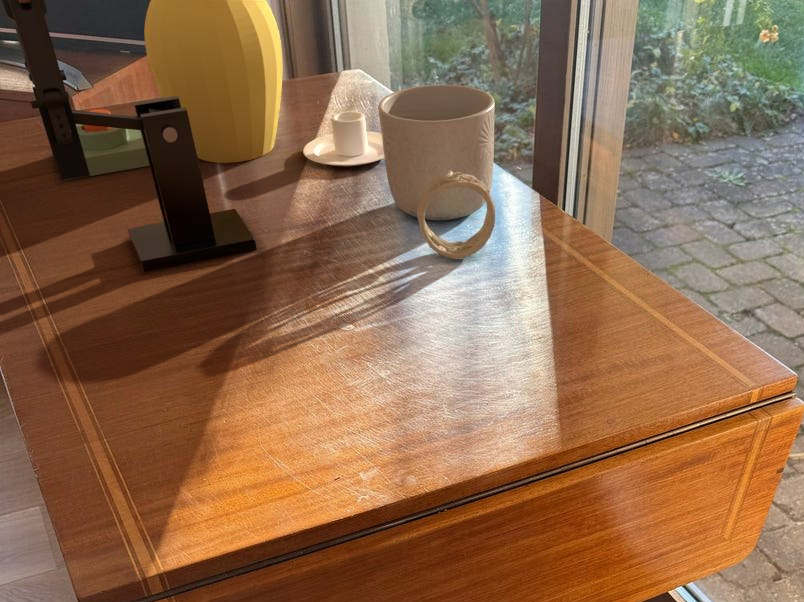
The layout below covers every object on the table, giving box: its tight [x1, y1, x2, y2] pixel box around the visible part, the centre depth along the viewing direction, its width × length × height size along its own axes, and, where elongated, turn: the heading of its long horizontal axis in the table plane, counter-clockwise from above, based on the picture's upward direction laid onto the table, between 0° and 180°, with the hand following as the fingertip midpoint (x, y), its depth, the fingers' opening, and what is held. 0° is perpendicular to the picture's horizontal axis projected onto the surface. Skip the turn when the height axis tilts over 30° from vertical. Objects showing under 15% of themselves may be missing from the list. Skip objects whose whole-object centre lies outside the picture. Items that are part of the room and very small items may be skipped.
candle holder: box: [302, 110, 385, 167], centre depth 123 cm, size 12×12×4 cm
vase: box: [143, 0, 284, 164], centre depth 117 cm, size 16×16×28 cm
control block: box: [65, 124, 150, 181], centre depth 124 cm, size 12×10×4 cm
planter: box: [377, 84, 496, 221], centre depth 108 cm, size 12×12×11 cm
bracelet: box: [416, 171, 496, 260], centre depth 100 cm, size 4×8×8 cm, turn 96°
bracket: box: [126, 96, 258, 273], centre depth 102 cm, size 12×9×14 cm
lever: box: [71, 108, 165, 131], centre depth 96 cm, size 12×5×2 cm, turn 113°
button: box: [83, 108, 112, 132], centre depth 122 cm, size 4×4×2 cm
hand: (71, 166), depth 97 cm, fingers closed on lever, 5 cm apart
